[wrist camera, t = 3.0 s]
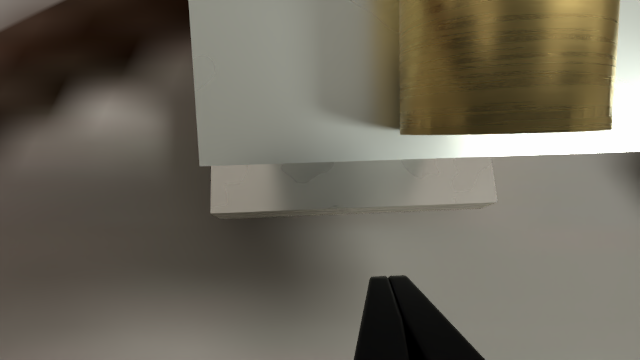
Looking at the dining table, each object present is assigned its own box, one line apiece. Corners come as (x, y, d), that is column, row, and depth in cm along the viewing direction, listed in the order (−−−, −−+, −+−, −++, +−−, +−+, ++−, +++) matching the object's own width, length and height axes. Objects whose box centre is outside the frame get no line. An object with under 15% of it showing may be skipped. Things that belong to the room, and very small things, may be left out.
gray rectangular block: (465, 214, 17) (497, 202, 14) (226, 223, 17) (210, 213, 14) (439, 6, 20) (462, -41, 17) (227, 9, 19) (213, -39, 16)
